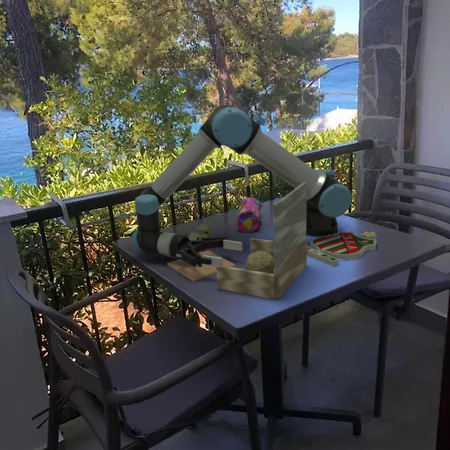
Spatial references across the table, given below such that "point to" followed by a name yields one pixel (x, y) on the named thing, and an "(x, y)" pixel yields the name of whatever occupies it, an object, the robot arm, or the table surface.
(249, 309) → the table surface
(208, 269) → the terracotta tile
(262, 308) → the table surface
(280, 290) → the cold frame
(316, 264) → the table surface
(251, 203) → the pencil case
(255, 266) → the olive rounded lump
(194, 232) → the rock
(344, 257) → the decorative emblem
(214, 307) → the table surface
